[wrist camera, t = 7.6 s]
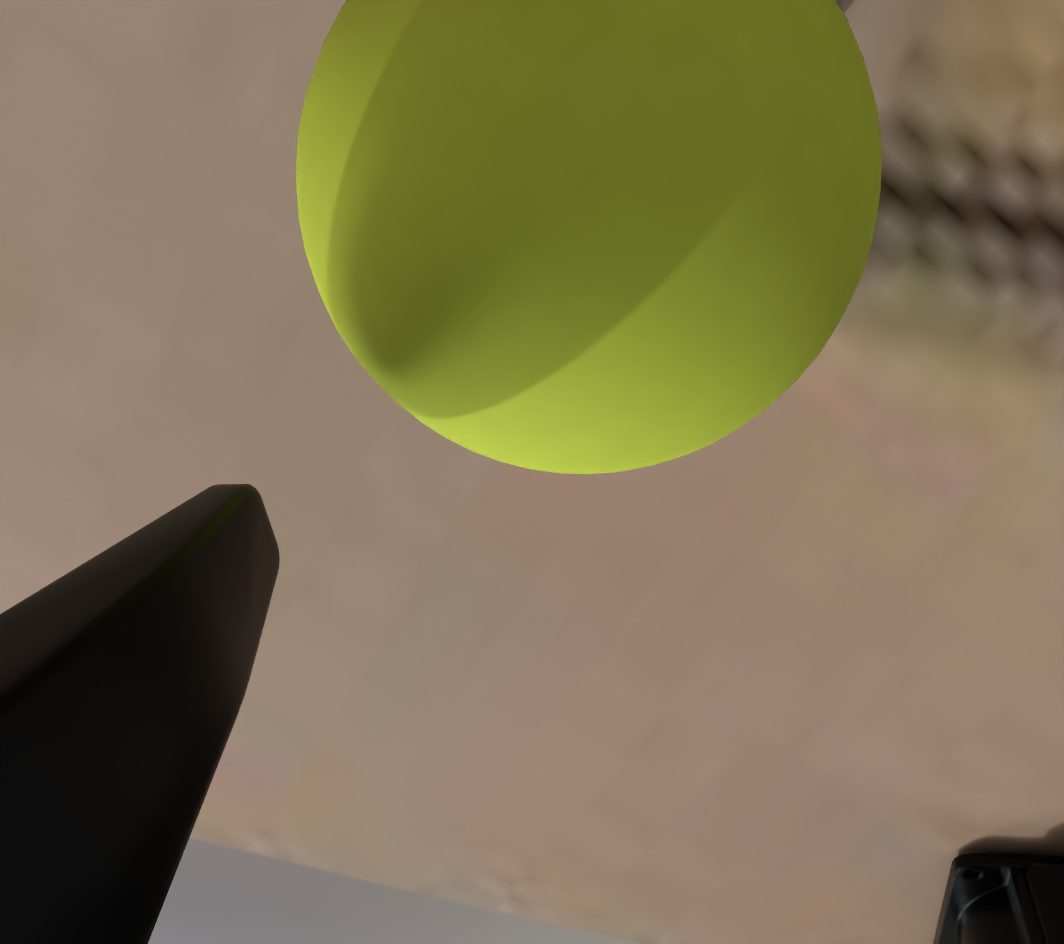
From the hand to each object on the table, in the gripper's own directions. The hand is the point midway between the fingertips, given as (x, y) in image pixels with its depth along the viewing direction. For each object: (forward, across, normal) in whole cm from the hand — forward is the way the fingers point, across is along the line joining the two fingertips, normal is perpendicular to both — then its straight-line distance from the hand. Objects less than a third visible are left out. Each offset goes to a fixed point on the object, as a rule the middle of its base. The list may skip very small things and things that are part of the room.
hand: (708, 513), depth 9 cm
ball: (+3, +1, -2) cm, 4 cm away
